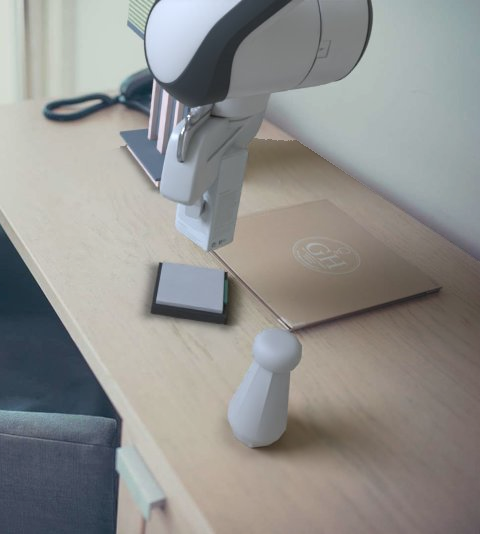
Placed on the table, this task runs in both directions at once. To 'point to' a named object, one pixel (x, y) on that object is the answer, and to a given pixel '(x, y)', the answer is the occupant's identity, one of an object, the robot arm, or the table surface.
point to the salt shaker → (265, 389)
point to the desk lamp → (152, 110)
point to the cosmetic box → (217, 204)
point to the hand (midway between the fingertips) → (206, 200)
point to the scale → (190, 292)
